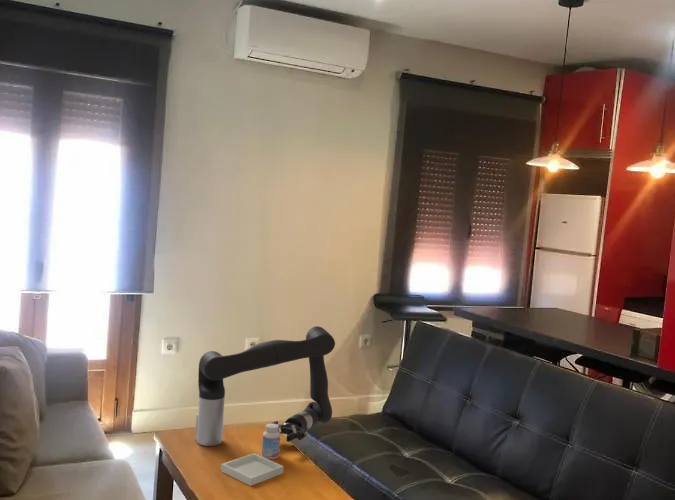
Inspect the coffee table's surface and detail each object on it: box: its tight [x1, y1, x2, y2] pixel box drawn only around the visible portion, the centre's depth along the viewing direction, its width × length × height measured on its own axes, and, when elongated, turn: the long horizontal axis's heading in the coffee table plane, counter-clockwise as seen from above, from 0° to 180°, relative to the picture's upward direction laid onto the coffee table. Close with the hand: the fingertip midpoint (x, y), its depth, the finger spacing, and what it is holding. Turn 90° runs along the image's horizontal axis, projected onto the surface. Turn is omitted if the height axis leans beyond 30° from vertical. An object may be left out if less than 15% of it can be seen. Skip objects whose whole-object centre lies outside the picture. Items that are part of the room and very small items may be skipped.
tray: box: [220, 452, 285, 487], centre depth 233 cm, size 15×15×2 cm
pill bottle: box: [261, 423, 281, 460], centre depth 247 cm, size 6×6×11 cm
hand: (277, 436), depth 250 cm, fingers open, 8 cm apart
